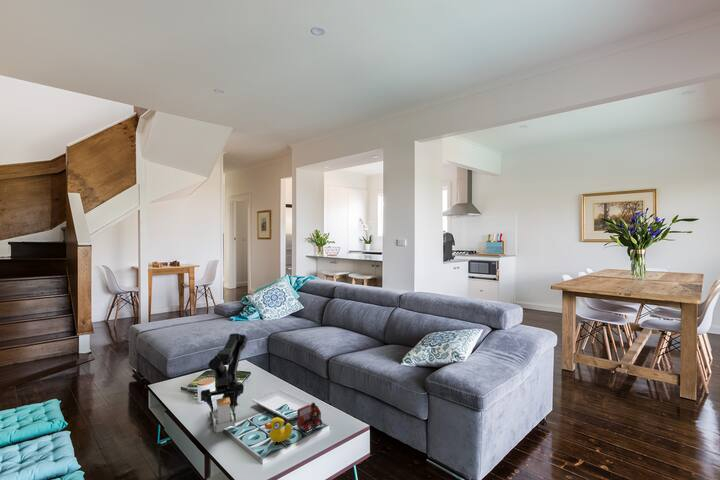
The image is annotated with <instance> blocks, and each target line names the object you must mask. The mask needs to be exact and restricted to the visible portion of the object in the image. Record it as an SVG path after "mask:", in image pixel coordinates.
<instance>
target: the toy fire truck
mask: <svg viewBox="0 0 720 480" xmlns="http://www.w3.org/2000/svg"><path fill="white" fill-rule="evenodd" d="M310 403H311V402H310ZM297 415H298V417H297V418H298V420H297V422H296V426H297V427H296V428H298V429H299V430H303V429H304V432H305V431H306V432H305V433H307V431H309V430H311V429H312V428H315V427H317V426H319V425H321V424H323V422H322V413H321V410H320V408H319V406H318V405H316V403H315V402H312V403H311V405H307V406H304V407H302V408H300V409H298V410H297ZM321 426H322V425H321ZM312 430H313V429H312Z"/></svg>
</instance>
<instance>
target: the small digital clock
mask: <svg viewBox="0 0 720 480" xmlns="http://www.w3.org/2000/svg"><path fill="white" fill-rule="evenodd" d="M236 416H237V415H236V411H235V408H234V406H231V407H230V422H228V423H224V424H219V425H218V411H217V410H213V413H212V411H211V410H210V411H209V419H210V425H213V429H214V434H216V433H220V432H224V431H223V430H224V428H227V427H229V426H235V427H236V424H235V420H236V419H237V417H236Z"/></svg>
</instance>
